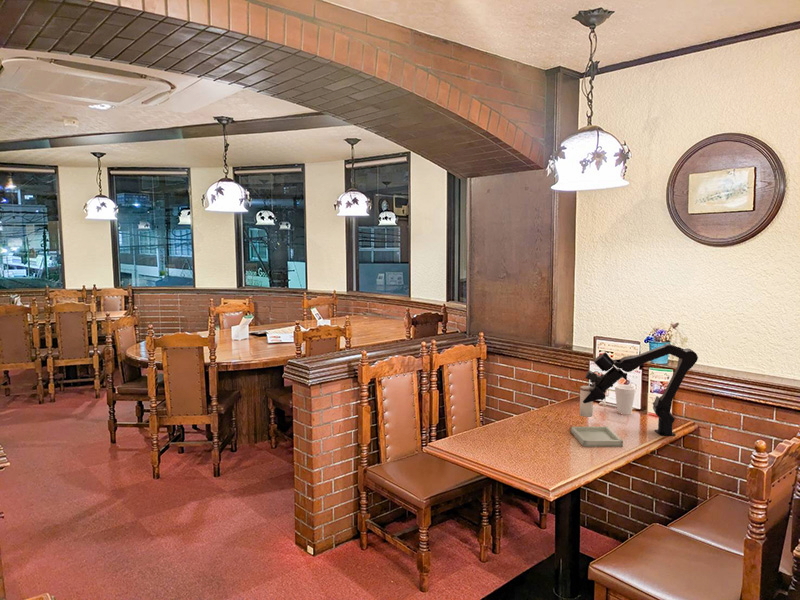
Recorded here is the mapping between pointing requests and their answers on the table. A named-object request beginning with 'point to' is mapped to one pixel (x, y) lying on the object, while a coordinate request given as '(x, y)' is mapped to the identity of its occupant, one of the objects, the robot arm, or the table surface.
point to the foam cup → (624, 398)
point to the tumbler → (585, 408)
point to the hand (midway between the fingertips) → (583, 400)
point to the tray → (596, 437)
